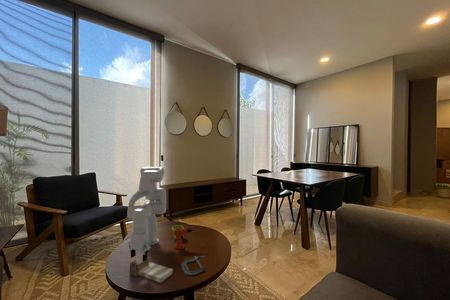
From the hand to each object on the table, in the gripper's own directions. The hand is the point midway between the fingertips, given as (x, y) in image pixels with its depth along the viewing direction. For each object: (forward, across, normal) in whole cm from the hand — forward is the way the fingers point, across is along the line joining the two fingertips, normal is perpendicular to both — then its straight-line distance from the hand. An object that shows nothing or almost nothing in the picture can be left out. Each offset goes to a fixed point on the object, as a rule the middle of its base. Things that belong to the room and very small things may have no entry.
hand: (139, 258), depth 129 cm
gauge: (+8, 0, +1) cm, 8 cm away
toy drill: (+8, +6, +39) cm, 40 cm away
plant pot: (+7, -10, +50) cm, 52 cm away
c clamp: (+9, +26, +21) cm, 35 cm away
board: (+8, +7, +3) cm, 11 cm away
